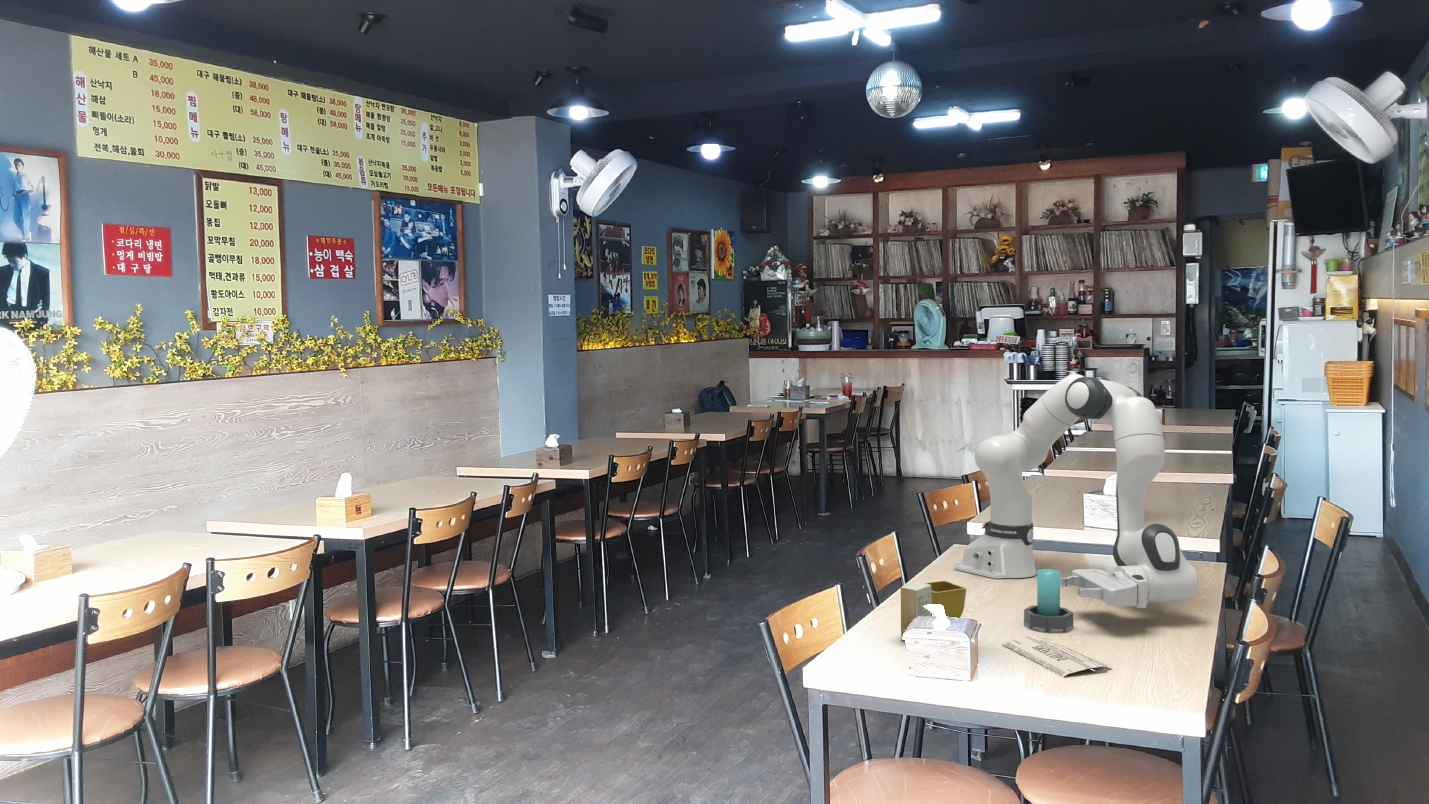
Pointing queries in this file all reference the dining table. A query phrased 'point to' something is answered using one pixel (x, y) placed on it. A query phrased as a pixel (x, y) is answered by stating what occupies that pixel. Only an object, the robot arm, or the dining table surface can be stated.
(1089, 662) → the newspaper
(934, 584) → the flower pot
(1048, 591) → the teal pillar candle
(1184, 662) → the dining table surface
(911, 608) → the skincare box
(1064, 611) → the barrel ring
